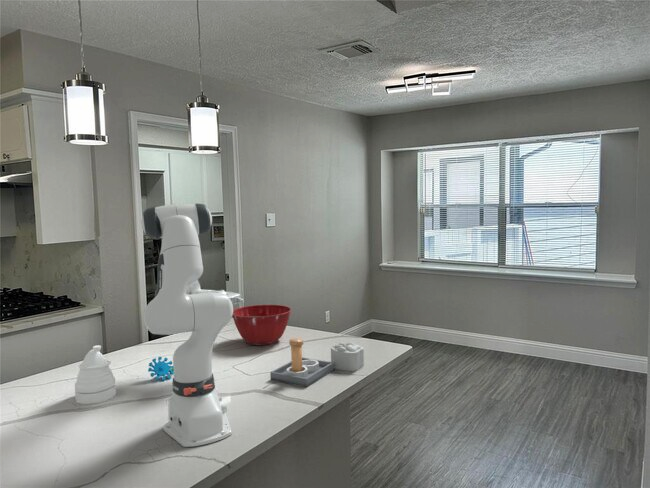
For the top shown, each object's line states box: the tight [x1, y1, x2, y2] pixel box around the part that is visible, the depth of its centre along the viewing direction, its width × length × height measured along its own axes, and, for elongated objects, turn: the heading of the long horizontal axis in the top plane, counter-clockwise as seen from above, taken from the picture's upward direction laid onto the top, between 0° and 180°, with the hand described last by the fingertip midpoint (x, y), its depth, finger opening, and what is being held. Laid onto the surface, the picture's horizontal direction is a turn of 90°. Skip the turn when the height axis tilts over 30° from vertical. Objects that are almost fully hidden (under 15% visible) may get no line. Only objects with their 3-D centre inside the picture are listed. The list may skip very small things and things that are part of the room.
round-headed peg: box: [289, 338, 304, 372], centre depth 179 cm, size 5×5×13 cm
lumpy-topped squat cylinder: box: [330, 341, 365, 372], centre depth 192 cm, size 10×13×9 cm
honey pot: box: [74, 344, 117, 405], centre depth 167 cm, size 13×13×18 cm
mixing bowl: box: [232, 304, 292, 346], centre depth 230 cm, size 28×28×16 cm
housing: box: [269, 356, 335, 388], centre depth 183 cm, size 16×20×4 cm
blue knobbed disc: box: [147, 356, 174, 382], centre depth 185 cm, size 11×6×10 cm
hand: (234, 303), depth 182 cm, fingers open, 8 cm apart
